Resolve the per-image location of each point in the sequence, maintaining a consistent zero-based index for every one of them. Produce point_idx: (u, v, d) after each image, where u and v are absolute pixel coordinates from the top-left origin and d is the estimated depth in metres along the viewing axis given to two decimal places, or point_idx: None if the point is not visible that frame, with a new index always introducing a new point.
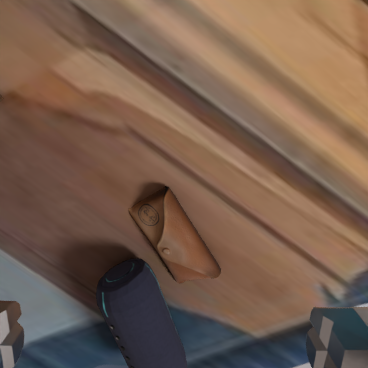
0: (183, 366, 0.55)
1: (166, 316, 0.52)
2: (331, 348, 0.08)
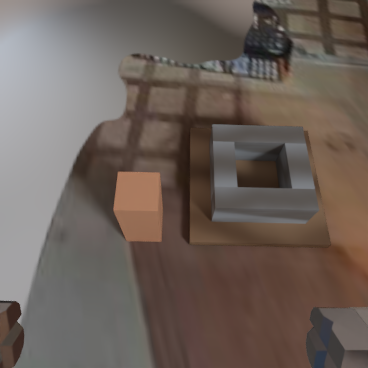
0: None
1: None
2: (331, 348, 0.08)
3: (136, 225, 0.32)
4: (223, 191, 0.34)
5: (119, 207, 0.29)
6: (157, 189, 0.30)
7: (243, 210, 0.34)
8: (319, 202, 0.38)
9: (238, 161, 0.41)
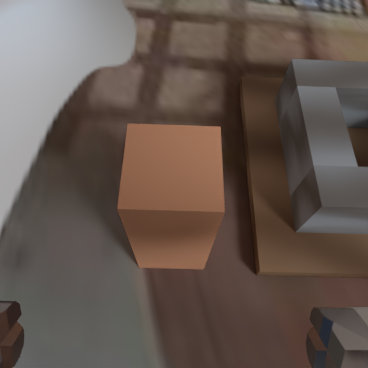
0: None
1: None
2: (331, 348, 0.08)
3: (165, 242, 0.15)
4: (332, 175, 0.17)
5: (133, 203, 0.12)
6: (219, 162, 0.13)
7: None
8: None
9: None
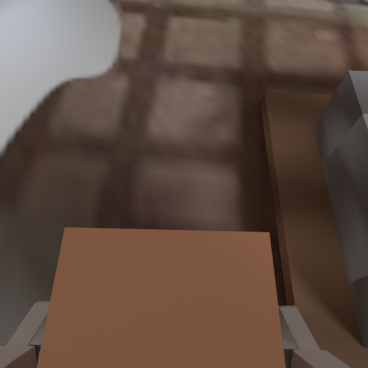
0: None
1: None
2: None
3: None
4: None
5: None
6: (274, 334, 0.05)
7: None
8: None
9: None
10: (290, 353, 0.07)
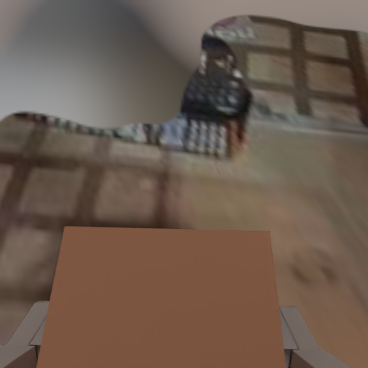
0: None
1: None
2: None
3: None
4: None
5: None
6: (274, 333, 0.05)
7: None
8: None
9: None
10: (290, 353, 0.07)
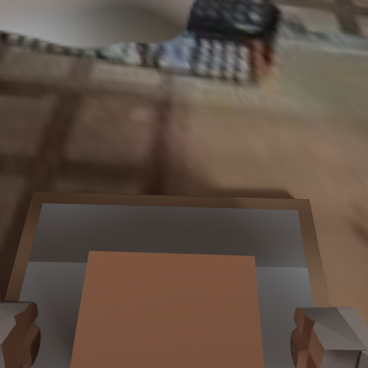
0: None
1: None
2: (312, 348, 0.08)
3: None
4: None
5: None
6: (255, 339, 0.07)
7: None
8: None
9: None
10: (358, 354, 0.07)
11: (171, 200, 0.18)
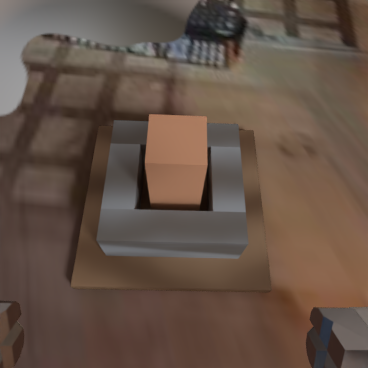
0: None
1: None
2: (331, 349, 0.08)
3: (171, 191, 0.24)
4: (112, 216, 0.24)
5: (153, 160, 0.20)
6: (205, 137, 0.21)
7: (139, 243, 0.23)
8: (260, 227, 0.28)
9: None
10: None
11: None
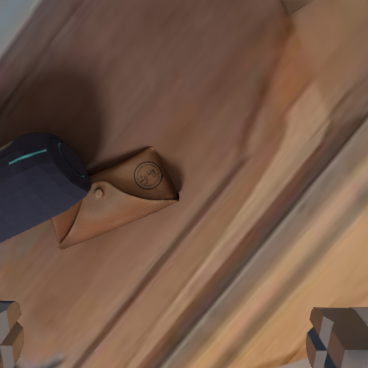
0: None
1: (23, 231, 0.38)
2: (331, 348, 0.08)
3: None
4: None
5: None
6: None
7: None
8: None
9: None
10: None
11: None
